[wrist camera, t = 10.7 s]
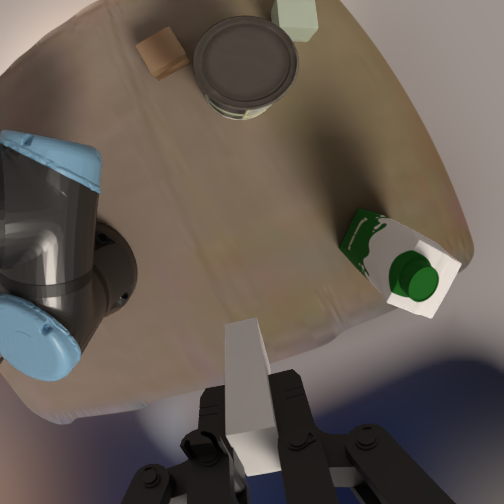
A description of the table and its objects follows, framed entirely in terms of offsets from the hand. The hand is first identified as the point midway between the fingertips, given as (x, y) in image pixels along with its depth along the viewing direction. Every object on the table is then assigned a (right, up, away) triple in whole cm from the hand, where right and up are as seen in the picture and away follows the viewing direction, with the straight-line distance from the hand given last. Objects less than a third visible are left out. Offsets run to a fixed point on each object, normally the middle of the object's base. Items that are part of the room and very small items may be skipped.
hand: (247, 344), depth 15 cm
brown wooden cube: (-12, +32, +23) cm, 41 cm away
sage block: (+5, +37, +22) cm, 43 cm away
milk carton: (+18, +7, +34) cm, 39 cm away
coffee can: (-1, +27, +25) cm, 37 cm away
